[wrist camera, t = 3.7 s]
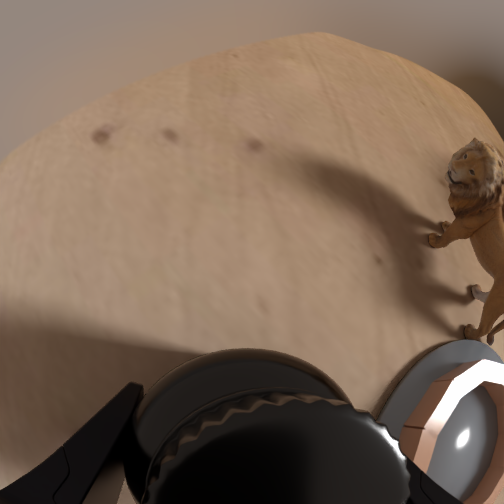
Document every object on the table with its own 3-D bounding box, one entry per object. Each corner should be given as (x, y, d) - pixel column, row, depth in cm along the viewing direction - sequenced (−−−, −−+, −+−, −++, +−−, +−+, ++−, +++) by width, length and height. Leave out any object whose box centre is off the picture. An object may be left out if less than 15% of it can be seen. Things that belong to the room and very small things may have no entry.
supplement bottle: (145, 363, 15) (42, 337, 4) (273, 349, 16) (429, 293, 5) (167, 483, 12) (145, 641, 1) (291, 464, 14) (445, 557, 3)
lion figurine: (392, 202, 22) (465, 131, 14) (427, 187, 24) (490, 127, 16) (473, 362, 18) (565, 340, 10) (498, 328, 20) (576, 300, 12)
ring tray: (476, 530, 12) (494, 535, 10) (316, 562, 11) (333, 580, 9) (520, 359, 19) (540, 354, 17) (395, 314, 18) (420, 305, 16)
